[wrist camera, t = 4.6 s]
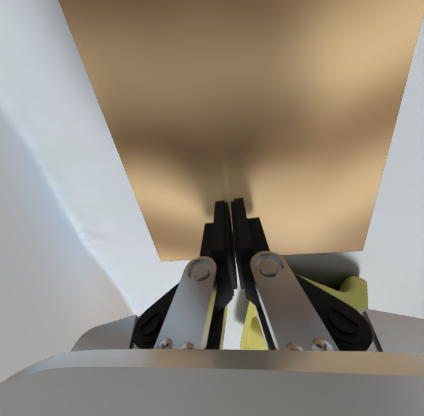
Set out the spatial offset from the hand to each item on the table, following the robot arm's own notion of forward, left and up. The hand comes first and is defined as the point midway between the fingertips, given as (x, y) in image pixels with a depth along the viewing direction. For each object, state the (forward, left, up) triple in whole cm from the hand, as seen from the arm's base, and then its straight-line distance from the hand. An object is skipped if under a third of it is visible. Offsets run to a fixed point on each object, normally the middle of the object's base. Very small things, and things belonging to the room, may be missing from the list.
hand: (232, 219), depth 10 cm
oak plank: (-1, -4, -2) cm, 5 cm away
